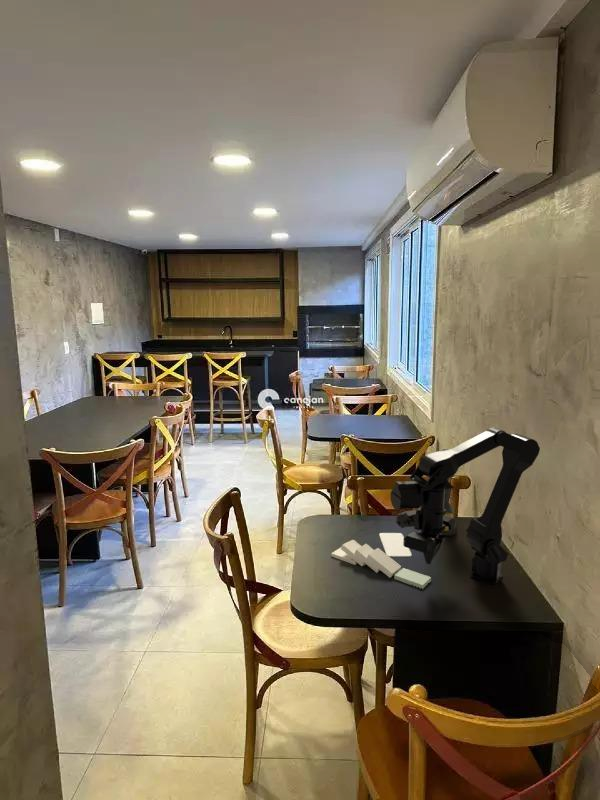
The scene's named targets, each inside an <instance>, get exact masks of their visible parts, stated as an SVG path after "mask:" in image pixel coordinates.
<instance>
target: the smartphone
mask: <svg viewBox="0 0 600 800" xmlns="http://www.w3.org/2000/svg"><path fill="white" fill-rule="evenodd" d="M378 536H379V538H380V541H381V544H382V546H383V549H384V553H385V554H386V555H388V556H389V557H390V558H392V557H393V558H395V557H396V558H397V557H398V558H399V557H400V558H403V557H404V558H407V557H408V558H409V557H410V558H411V557H412V555H413V554H412V552H411V550H410V548H407V547H404V546H403V541H404V538H405V536H404V535H403V533H401V532H380V533H379V535H378Z"/></svg>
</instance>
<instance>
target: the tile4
mask: <svg viewBox="0 0 600 800" xmlns="http://www.w3.org/2000/svg"><path fill="white" fill-rule="evenodd" d="M361 546H362V545H361V544H360V543H358V541H356V540H354V539H351V540H349V541H347V542H345V543H343V544H341V546H340V548H341V550H343V551H344V552H345V553H346V554H347V555H349V556H350V557H351V558H352V559H354V560H355V561H356V562H357V564H358V565H360V566H361V567H364V566H366V565H367V564H366V563H364V562H363V561H362V560H361V559H360V558H359V557H357V556H356V555H355V554H354V553H355V551H356V549H358V548H360V547H361Z"/></svg>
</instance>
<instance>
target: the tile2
mask: <svg viewBox="0 0 600 800" xmlns="http://www.w3.org/2000/svg"><path fill="white" fill-rule="evenodd" d="M373 550H374V551H372V552H371V553H369V554H368V556H367V558H366V559H367V560H369V561H370V562H371V563H372V564H374V565H375V566H376V567H377V568H378V569H380V571H381V572H382V573H383V574H384V575H385V576H387V577H388V578H392V577H393V576H394V575H395V574H396V573H398V572H399V571H400V570H401V569H402V568H401V567H402V566H401V565H400V564H399V563H398V562H396V561H395V560H394V559H393V558H392V557H389V556H388V555H386V552H385V551H382V550H381V548H379V547H377V548H375V549H373Z"/></svg>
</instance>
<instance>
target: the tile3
mask: <svg viewBox="0 0 600 800" xmlns="http://www.w3.org/2000/svg"><path fill="white" fill-rule="evenodd" d="M374 550H375V549H373V548H372V547H371V546H370V545H369V544H368V543H364V544H363V545H361V547H360V548H358V549H356V551H355V553H354V554H355V555H356V556H357V557H359V558H360V559H361V560H362V561H363V562H364V563H366V565H367V566H368V567H369V568H370V569H372V570H373V571H374V572H375V573H376V574H378V572H380V571H381V570H380V569H378V568H377V567H376V566H375V565H374V564H372V563H371V562H370V561H369V560H367V559H366V558H367V556H368V554H369V553H371V552H372V551H374Z"/></svg>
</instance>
